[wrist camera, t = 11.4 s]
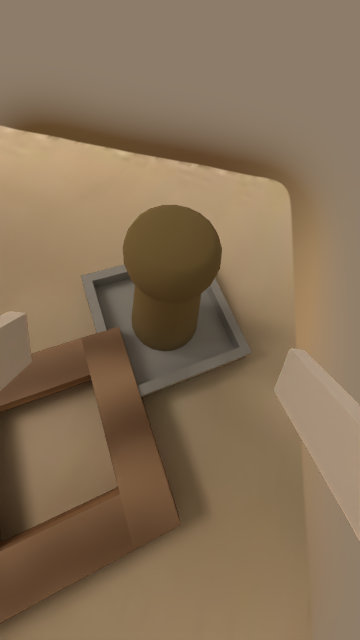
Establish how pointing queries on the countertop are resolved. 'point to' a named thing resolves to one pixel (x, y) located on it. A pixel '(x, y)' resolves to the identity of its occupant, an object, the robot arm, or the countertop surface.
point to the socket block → (103, 511)
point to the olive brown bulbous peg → (169, 273)
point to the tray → (165, 366)
